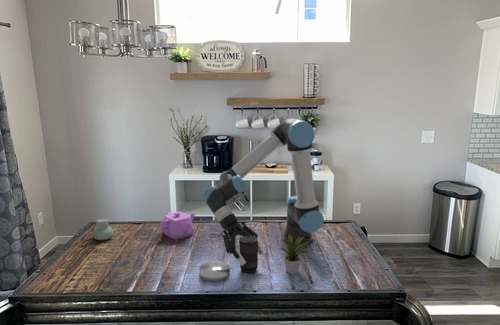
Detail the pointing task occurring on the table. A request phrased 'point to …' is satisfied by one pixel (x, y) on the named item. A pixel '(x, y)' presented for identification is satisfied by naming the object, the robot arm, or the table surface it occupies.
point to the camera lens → (249, 254)
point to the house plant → (293, 255)
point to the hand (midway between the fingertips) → (253, 258)
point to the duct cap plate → (214, 271)
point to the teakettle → (177, 225)
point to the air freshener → (102, 230)
